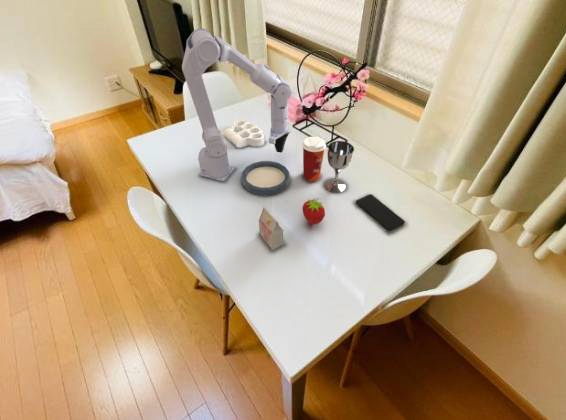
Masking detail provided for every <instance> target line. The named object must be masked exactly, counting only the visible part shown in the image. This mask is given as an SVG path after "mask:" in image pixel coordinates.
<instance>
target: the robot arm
mask: <svg viewBox="0 0 566 420" xmlns="http://www.w3.org/2000/svg"><path fill="white" fill-rule="evenodd" d="M217 61H218V62H219V63H225V62H229V63H230V64H232V65H234V66H235V67H237V68H238V69H240V70H242V71H243V72H245V73H246V74H248V75H249V80H250V82H252V83H253V84H254V85H255V86H257V87H258V88H260V89H262V90H263V91H264V92H266V93H267V94H270V130H269V131H270V132H269V137H268V144H271V145H274V148H275V152H276V153H281V154H282V153H283V151H284V149H285V144H286V141H287V138H288V137H289V135H290V134H291V133H292V129H291V128H289V126H290V119H289V100H290V98H291V97H292V94H293V93H292V92H293V91H291V88H290V85H289V84H288V83H287V82H286V81H285V80H284V79H283V78H282V76H281V75H280V74H276V73H275V72H273V71H272V70H270V69H271V68H270V67H269V65H267V64H266V63H265V64H262V63H253V62H252V61H251V60H250V59H248V58H247V57H246V55H244V54H242V53H241V52H240V51H238V50H237V49H236V48H235V47H234V46H232V45H231V44H229V43H228V42H227V41H225V40H224V39H222V38H221V37H219V36H218V35H216V34H212V33H211V32H210V31H209V30H208V29H206V28H202V27H199V28H196V29H194V30H193V31H192V32H191V34H190V35H189V37H188V38H187V39H186V46H185V51H184V54H183V60H182V64H181V70H182V73H183V76H184V79H185V82H186V85H187V88H188V91H189V93H190V97H191V98H192V103H193V105H194V108H195V111H196V114H197V117H198V120H199V123H200V125H201V128H202V134H201V137H202V141H203V143H204V145H205V147H201V149H200V150H199V152H198V159H197V160H198V164H199V168H200V169H199V170H200V173H199V174H200V176H201V177H205V178H210V179H212V180H217V181H220V182H225V181H226V180H227V178H229V176H230V175H231V174H232V173H233V172H234V170H235V167H233V166H230V163H229V156H228V151H227V149H228V146H227V144H226V142H225V140H224V138H223V135H222V131H220V129H219V128H218V125H217V122H216V119H215V115H214V111H213V109H212V105H211V102H210V97H209V95H208V92H207V88H206V85H205V82H204V79H203V74H204V73H205V72H206V70H207V69H208V68H209V67H211V66H212V65H214V64H215V63H216V62H217Z"/></svg>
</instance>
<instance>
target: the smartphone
mask: <svg viewBox="0 0 566 420" xmlns="http://www.w3.org/2000/svg"><path fill="white" fill-rule="evenodd" d="M355 204H357V206H358V207H360V208H361V209H362V210H363V211H364V212H365V213H367V214H368V215H369V216H370V217H371V218H372V219H374V220H375V221H376V222H377V223H378V224H379V225H380V226H382V227H383V228H384V229H385V230H386V231H388V232H391V231H393V230H395V229H397V228H398V227H400V226H403V225H404V224H405V222H406V221H405V220H404V219H403V218H402V217H400V216H399V215H398V214H397V213H395V212H394V211H393V210H392V209H390V208H389V207H388V206H387V205H386V204H384V203H383V202H382V201H381V200H379V199H378V198H377V197H375V196H374V195H373V194H367V195H365V196H363V197H360V198H358V199H357V200H355Z"/></svg>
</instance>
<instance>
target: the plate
mask: <svg viewBox="0 0 566 420" xmlns="http://www.w3.org/2000/svg"><path fill="white" fill-rule="evenodd" d="M241 182H242V185H243V187H244V189H245V190H246V191H247V192H249V193H251V194H252V195H256V196H262V197H267V196H274V195H277V194H279V193H282V192H283V191H285V190H286V189H287V187H288V186H289V184H290V171H289V170H288V168H287V167H286V166H285V165H284V164H281V163H280V162H277V161H272V160H260V161H257V162H254V163H251V164H249V165H247V166H246V167H245V168H244V169H243V171H242V172H241Z"/></svg>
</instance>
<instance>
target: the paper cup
mask: <svg viewBox="0 0 566 420" xmlns="http://www.w3.org/2000/svg"><path fill="white" fill-rule="evenodd" d="M301 145H302V155H303V156H302V161H303V162H302V168H303V169H302V170H303V171H302V172H303V173H302V175H303V179H304V180H306V181H308V182H317V181H318V180H319V179H320V176H321V171H322V166H323V160H324V154H325V149H326V148H327V143H326V141H325V140H324V139H323V138H321V137H320V136H308V137H306V138H304V140H303V142H302V144H301Z"/></svg>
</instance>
